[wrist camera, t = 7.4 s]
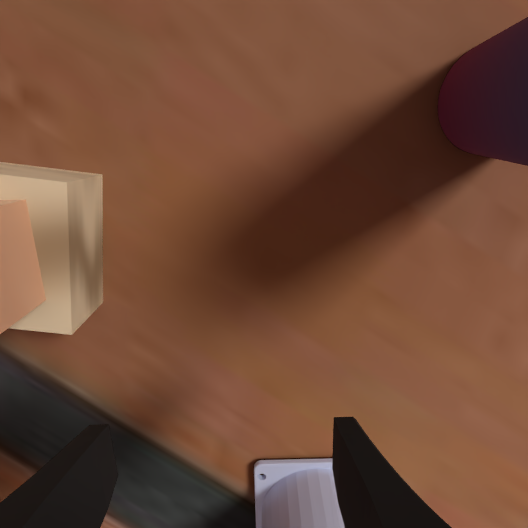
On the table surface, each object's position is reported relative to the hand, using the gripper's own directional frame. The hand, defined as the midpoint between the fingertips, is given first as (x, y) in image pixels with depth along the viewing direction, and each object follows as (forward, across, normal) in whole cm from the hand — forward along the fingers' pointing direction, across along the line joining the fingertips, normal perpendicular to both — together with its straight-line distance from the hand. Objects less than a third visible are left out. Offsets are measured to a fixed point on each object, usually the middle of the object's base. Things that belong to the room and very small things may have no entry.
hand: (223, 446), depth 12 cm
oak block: (+10, +10, -5) cm, 15 cm away
